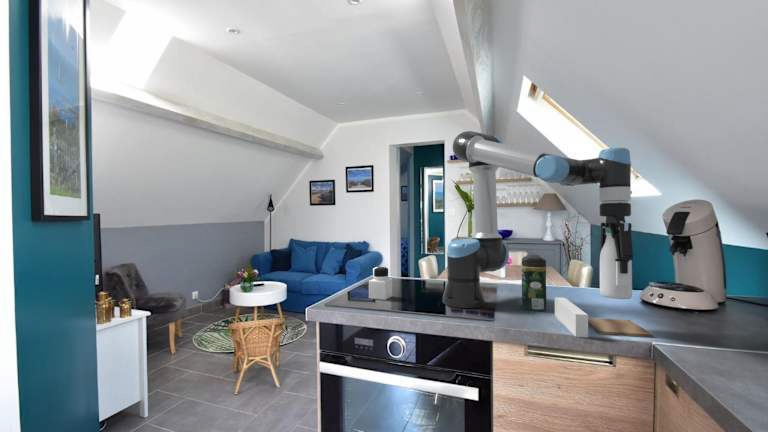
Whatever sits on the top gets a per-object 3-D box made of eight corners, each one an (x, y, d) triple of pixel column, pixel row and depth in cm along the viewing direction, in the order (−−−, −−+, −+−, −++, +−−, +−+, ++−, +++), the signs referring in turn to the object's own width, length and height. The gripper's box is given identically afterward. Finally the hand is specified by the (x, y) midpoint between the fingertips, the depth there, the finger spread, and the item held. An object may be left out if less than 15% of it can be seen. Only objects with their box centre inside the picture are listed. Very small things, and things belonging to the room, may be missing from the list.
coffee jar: (520, 303, 128) (520, 253, 128) (544, 305, 126) (544, 254, 126) (522, 310, 119) (522, 256, 119) (548, 312, 116) (547, 257, 117)
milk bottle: (636, 300, 95) (635, 227, 95) (603, 298, 98) (602, 227, 98) (627, 294, 102) (626, 226, 102) (597, 293, 105) (596, 226, 105)
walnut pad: (599, 334, 95) (599, 331, 95) (582, 320, 108) (582, 317, 108) (653, 337, 92) (653, 334, 92) (629, 322, 105) (629, 320, 105)
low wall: (575, 336, 93) (575, 314, 93) (554, 315, 113) (554, 297, 113) (588, 337, 92) (588, 314, 92) (564, 316, 112) (564, 297, 112)
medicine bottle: (392, 296, 140) (392, 266, 140) (385, 300, 134) (385, 269, 134) (376, 294, 143) (376, 265, 143) (368, 298, 137) (368, 268, 137)
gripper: (649, 200, 89) (649, 290, 89) (613, 203, 109) (614, 276, 109) (616, 201, 91) (617, 288, 91) (587, 204, 111) (587, 276, 111)
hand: (615, 282), depth 100 cm, fingers closed on milk bottle, 8 cm apart
